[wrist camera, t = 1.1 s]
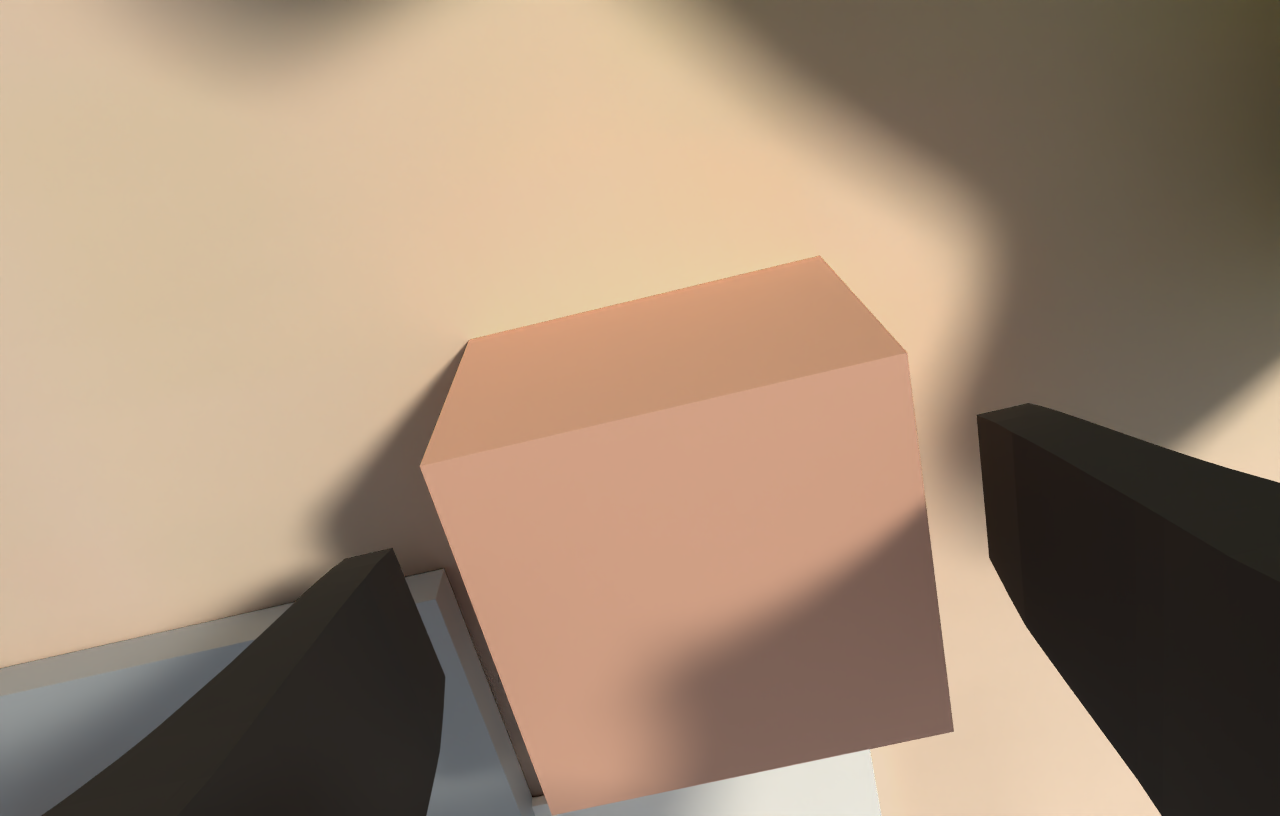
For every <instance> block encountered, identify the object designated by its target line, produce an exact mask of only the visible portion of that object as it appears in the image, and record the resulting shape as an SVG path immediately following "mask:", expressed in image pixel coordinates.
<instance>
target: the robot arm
mask: <svg viewBox="0 0 1280 816" xmlns="http://www.w3.org/2000/svg"><path fill="white" fill-rule="evenodd" d="M977 424H978V435H979V446H980V458H981V469H982V480H983V491H984V503H985V514H986V525H987V536H988V548H989V558H990V560H991V562H992V564H993V566H994V568H995V570H996V571H997V573H998V575H999V577H1000V579H1001V581H1002V583H1003V585H1004V587H1005V589H1006V591H1007V593H1008V595H1009V597H1010V598H1011V600H1012V602H1013V604H1014V606H1015V607H1016V609H1017V611H1018V613H1019V615H1020V616H1021V618H1022V620H1023V622H1024V624H1025V625H1026V627H1027V628H1028V630H1029V631H1030V633H1031V634H1032V635H1033V637H1034V638H1035V640H1036V641H1037V643H1038V644H1039V645H1040V647H1041V648H1042V650H1043V651H1044V652H1045V654H1046V655H1047V656H1048V658H1049V659H1050V661H1051V662H1052V663H1053V665H1054V666H1055V668H1056V669H1057V670H1058V672H1059V673H1060V674H1061V676H1062V677H1063V679H1064V680H1065V681H1066V683H1067V684H1068V685H1069V687H1070V688H1071V690H1072V691H1073V692H1074V694H1075V695H1076V696H1077V698H1078V699H1079V700H1080V702H1081V703H1082V705H1083V706H1084V707H1085V709H1086V710H1087V711H1088V713H1089V714H1090V715H1091V717H1092V718H1093V719H1094V721H1095V722H1096V724H1097V725H1098V726H1099V728H1100V729H1101V730H1102V732H1103V733H1104V734H1105V736H1106V737H1107V739H1108V740H1109V741H1110V743H1111V744H1112V745H1113V747H1114V748H1115V749H1116V751H1117V752H1118V754H1119V755H1120V756H1121V758H1122V759H1123V760H1124V762H1125V763H1126V764H1127V766H1128V767H1129V769H1130V770H1131V771H1132V773H1133V774H1134V775H1135V777H1136V778H1137V779H1138V781H1139V782H1140V784H1141V785H1142V787H1143V788H1144V790H1145V791H1146V793H1147V794H1148V796H1149V797H1150V799H1151V800H1152V802H1153V803H1154V805H1155V806H1156V808H1157V809H1158V811H1159V812H1160V814H1161V815H1162V816H1280V483H1278V482H1275V481H1271V480H1268V479H1264V478H1261V477H1257V476H1254V475H1250V474H1247V473H1243V472H1240V471H1236V470H1233V469H1229V468H1226V467H1222V466H1219V465H1216V464H1213V463H1210V462H1206V461H1203V460H1200V459H1197V458H1194V457H1191V456H1188V455H1184V454H1181V453H1178V452H1175V451H1172V450H1169V449H1166V448H1163V447H1160V446H1157V445H1154V444H1152V443H1149V442H1146V441H1143V440H1140V439H1137V438H1134V437H1131V436H1128V435H1125V434H1123V433H1120V432H1117V431H1114V430H1111V429H1108V428H1106V427H1103V426H1100V425H1097V424H1094V423H1091V422H1088V421H1085V420H1083V419H1080V418H1077V417H1074V416H1071V415H1068V414H1065V413H1062V412H1059V411H1055V410H1052V409H1049V408H1045V407H1042V406H1038V405H1034V404H1029V403H1028V404H1023V405H1019V406H1014V407H1010V408H1006V409H1001V410H997V411H992V412H988V413H984V414H979V415H977ZM445 678H446V677H445V674H444V672H443V669H442V667H441V665H440V662H439V660H438V657H437V655H436V652H435V650H434V648H433V645H432V643H431V640H430V638H429V635H428V633H427V631H426V628H425V626H424V623H423V621H422V618H421V616H420V614H419V611H418V609H417V606H416V604H415V601H414V599H413V597H412V594H411V592H410V589H409V587H408V584H407V582H406V580H405V577H404V575H403V572H402V570H401V567H400V565H399V563H398V560H397V558H396V555H395V553H394V550H393V548H391V549H386V550H382V551H378V552H373V553H369V554H364V555H360V556H356V557H351V558H347V559H344V560H343V561H342V562H340V563H339V564H338V565H336V566H335V567H334V568H332V569H331V570H330V571H329V572H328V573H326V574H325V575H324V576H323V577H322V578H321V579H320V580H318V581H317V582H316V583H315V584H314V585H313V586H312V587H311V588H310V589H308V590H307V591H306V592H305V593H304V594H303V595H302V596H301V597H300V598H299V599H298V600H297V601H296V602H294V603H293V604H292V605H291V606H290V607H289V608H288V609H287V610H286V611H285V612H284V613H283V614H282V615H281V616H280V617H279V618H278V619H277V620H275V621H274V622H273V623H272V624H271V625H270V626H269V627H268V628H267V629H266V630H265V631H264V632H263V633H262V634H261V635H260V636H258V637H257V638H256V639H255V640H254V641H253V642H252V643H251V644H250V645H249V646H248V647H247V648H246V649H245V650H244V651H243V652H241V653H240V654H239V655H238V656H237V657H236V658H235V659H234V660H233V661H232V662H231V663H230V664H229V665H228V666H226V667H225V668H224V669H223V670H222V671H221V672H220V673H218V674H217V675H216V676H215V677H214V678H213V679H212V680H211V681H209V682H208V683H207V684H206V685H205V686H204V687H203V688H201V689H200V690H199V691H198V692H197V693H196V694H195V695H193V696H192V697H191V698H190V699H189V700H188V701H187V702H186V703H184V704H183V705H182V706H181V707H180V708H179V709H178V710H176V711H175V712H174V713H173V714H172V715H171V716H170V717H168V718H167V719H166V720H165V721H164V722H163V723H162V724H160V725H159V726H158V727H157V728H156V729H154V730H153V731H152V732H151V733H150V734H148V735H147V736H146V737H145V738H144V739H142V740H141V741H140V742H139V743H137V744H136V745H135V746H134V747H132V748H131V749H130V750H129V751H127V752H126V753H125V754H124V755H122V756H121V757H120V758H119V759H117V760H116V761H115V762H113V763H112V764H111V765H109V766H108V767H107V768H105V769H104V770H103V771H101V772H100V773H99V774H97V775H96V776H95V777H93V778H92V779H91V780H89V781H88V782H87V783H85V784H84V785H83V786H81V787H80V788H79V789H78V790H76V791H75V792H74V793H72V794H71V795H69V796H68V797H67V798H65V799H64V800H63V801H61V802H60V803H58V804H57V805H56V806H54V807H53V808H51V809H50V810H49V811H47V812H46V813H44V814H43V815H41V816H426V815H427V811H428V806H429V801H430V797H431V792H432V787H433V783H434V778H435V774H436V769H437V764H438V759H439V754H440V746H441V735H442V724H443V711H444V694H445Z"/></svg>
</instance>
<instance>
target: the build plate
mask: <svg viewBox="0 0 1280 816" xmlns="http://www.w3.org/2000/svg"><path fill="white" fill-rule="evenodd" d="M405 580H406V582H407V584H408V587H409V589H410V592H411V594H412V597H413V599H414V601H415V604H416V606H417V609H418V611H419V614H420V616H421V618H422V621H423V623H424V626H425V628H426V631H427V633H428V635H429V638H430V640H431V643H432V645H433V648H434V650H435V652H436V655H437V657H438V660H439V662H440V665H441V667H442V669H443V672H444V674H445V677H446V678H445V694H444V711H443V724H442V735H441V746H440V754H439V759H438V764H437V769H436V774H435V778H434V783H433V787H432V792H431V797H430V801H429V806H428V811H427V815H426V816H535V814H534V811H533V809H532V795H531V793H530V790H529V788H528V785H527V782H526V780H525V777H524V775H523V772H522V769H521V767H520V764H519V762H518V759H517V757H516V754H515V751H514V749H513V746H512V744H511V741H510V738H509V736H508V733H507V731H506V728H505V725H504V723H503V720H502V718H501V715H500V712H499V710H498V707H497V705H496V702H495V700H494V697H493V694H492V692H491V689H490V687H489V684H488V681H487V679H486V676H485V674H484V671H483V668H482V666H481V663H480V661H479V658H478V655H477V653H476V650H475V648H474V645H473V642H472V640H471V637H470V635H469V632H468V630H467V627H466V624H465V622H464V619H463V617H462V614H461V611H460V609H459V606H458V604H457V601H456V598H455V596H454V593H453V591H452V588H451V585H450V583H449V580H448V578H447V575H446V573H445V570H444V569H440V570H436V571H431V572H427V573H422V574H418V575H413V576H409V577H405ZM293 603H294V602H293ZM293 603H289V604H285V605H280V606H276V607H271V608H267V609H262V610H258V611H254V612H249V613H245V614H240V615H236V616H231V617H227V618H222V619H218V620H214V621H209V622H205V623H200V624H196V625H191V626H187V627H182V628H178V629H174V630H169V631H165V632H160V633H156V634H151V635H147V636H143V637H138V638H134V639H129V640H125V641H120V642H116V643H111V644H107V645H103V646H98V647H94V648H89V649H85V650H80V651H76V652H71V653H67V654H63V655H58V656H54V657H49V658H45V659H40V660H36V661H32V662H27V663H23V664H18V665H14V666H9V667H5V668H0V816H41V815H43V814H44V813H46V812H47V811H49V810H50V809H51V808H53V807H54V806H56V805H57V804H58V803H60V802H61V801H63V800H64V799H65V798H67V797H68V796H69V795H71V794H72V793H74V792H75V791H76V790H78V789H79V788H80V787H81V786H83V785H84V784H85V783H87V782H88V781H89V780H91V779H92V778H93V777H95V776H96V775H97V774H99V773H100V772H101V771H103V770H104V769H105V768H107V767H108V766H109V765H111V764H112V763H113V762H115V761H116V760H117V759H119V758H120V757H121V756H122V755H124V754H125V753H126V752H127V751H129V750H130V749H131V748H132V747H134V746H135V745H136V744H137V743H139V742H140V741H141V740H142V739H144V738H145V737H146V736H147V735H148V734H150V733H151V732H152V731H153V730H154V729H156V728H157V727H158V726H159V725H160V724H162V723H163V722H164V721H165V720H166V719H167V718H168V717H170V716H171V715H172V714H173V713H174V712H175V711H176V710H178V709H179V708H180V707H181V706H182V705H183V704H184V703H186V702H187V701H188V700H189V699H190V698H191V697H192V696H193V695H195V694H196V693H197V692H198V691H199V690H200V689H201V688H203V687H204V686H205V685H206V684H207V683H208V682H209V681H211V680H212V679H213V678H214V677H215V676H216V675H217V674H218V673H220V672H221V671H222V670H223V669H224V668H225V667H226V666H228V665H229V664H230V663H231V662H232V661H233V660H234V659H235V658H236V657H237V656H238V655H239V654H240V653H241V652H243V651H244V650H245V649H246V648H247V647H248V646H249V645H250V644H251V643H252V642H253V641H254V640H255V639H256V638H257V637H258V636H260V635H261V634H262V633H263V632H264V631H265V630H266V629H267V628H268V627H269V626H270V625H271V624H272V623H273V622H274V621H275V620H277V619H278V618H279V617H280V616H281V615H282V614H283V613H284V612H285V611H286V610H287V609H288V608H289V607H290V606H291V605H292V604H293Z"/></svg>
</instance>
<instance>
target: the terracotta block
mask: <svg viewBox="0 0 1280 816" xmlns="http://www.w3.org/2000/svg"><path fill="white" fill-rule="evenodd" d="M420 468H421V471H422V474H423V476H424V479H425V481H426V484H427V487H428V489H429V492H430V495H431V497H432V500H433V503H434V505H435V508H436V510H437V513H438V516H439V518H440V521H441V524H442V526H443V529H444V532H445V534H446V537H447V540H448V542H449V545H450V547H451V550H452V553H453V555H454V558H455V561H456V563H457V566H458V569H459V571H460V574H461V576H462V579H463V582H464V584H465V587H466V590H467V592H468V595H469V598H470V600H471V603H472V606H473V608H474V611H475V613H476V616H477V619H478V621H479V624H480V627H481V629H482V632H483V635H484V637H485V640H486V642H487V645H488V648H489V650H490V653H491V656H492V658H493V661H494V664H495V666H496V669H497V672H498V674H499V677H500V679H501V682H502V685H503V687H504V690H505V693H506V695H507V698H508V701H509V703H510V706H511V708H512V711H513V714H514V716H515V719H516V722H517V724H518V727H519V730H520V732H521V735H522V738H523V740H524V743H525V745H526V748H527V751H528V753H529V756H530V759H531V761H532V764H533V767H534V769H535V772H536V774H537V777H538V780H539V782H540V785H541V788H542V790H543V793H544V796H545V798H546V801H547V804H548V806H549V809H550V811H551V814H552V815H557V814H562V813H567V812H571V811H576V810H581V809H586V808H591V807H595V806H600V805H605V804H610V803H614V802H619V801H624V800H629V799H634V798H638V797H643V796H648V795H653V794H657V793H662V792H667V791H672V790H677V789H681V788H686V787H691V786H696V785H700V784H705V783H710V782H715V781H720V780H724V779H729V778H734V777H739V776H743V775H748V774H753V773H758V772H763V771H767V770H772V769H777V768H782V767H786V766H791V765H796V764H801V763H806V762H810V761H815V760H820V759H825V758H829V757H834V756H839V755H844V754H849V753H853V752H858V751H863V750H868V749H872V748H877V747H882V746H887V745H892V744H896V743H901V742H906V741H911V740H915V739H920V738H925V737H930V736H935V735H939V734H944V733H949V732H954V729H953V721H952V713H951V704H950V696H949V688H948V680H947V672H946V664H945V656H944V648H943V640H942V631H941V623H940V615H939V607H938V599H937V591H936V583H935V575H934V566H933V558H932V550H931V542H930V534H929V526H928V518H927V510H926V501H925V493H924V485H923V477H922V469H921V461H920V453H919V445H918V436H917V428H916V420H915V412H914V404H913V396H912V388H911V380H910V371H909V363H908V355H907V352H906V351H905V350H904V349H903V347H902V346H901V345H900V344H899V343H898V342H897V341H896V340H895V339H894V337H893V336H892V335H891V334H890V333H889V332H888V331H887V330H886V329H885V327H884V326H883V325H882V324H881V323H880V322H879V321H878V320H877V319H876V317H875V316H874V315H873V314H872V313H871V312H870V311H869V310H868V309H867V307H866V306H865V305H864V304H863V303H862V302H861V301H860V300H859V299H858V298H857V296H856V295H855V294H854V293H853V292H852V291H851V290H850V289H849V288H848V286H847V285H846V284H845V283H844V282H843V281H842V280H841V279H840V278H839V276H838V275H837V274H836V273H835V272H834V271H833V270H832V269H831V268H830V266H829V265H828V264H827V263H826V262H825V261H824V260H823V259H822V258H821V256H816V257H812V258H808V259H803V260H799V261H795V262H791V263H787V264H783V265H778V266H774V267H770V268H766V269H762V270H758V271H753V272H749V273H745V274H741V275H737V276H733V277H728V278H724V279H720V280H716V281H712V282H708V283H703V284H699V285H695V286H691V287H687V288H683V289H678V290H674V291H670V292H666V293H662V294H658V295H653V296H649V297H645V298H641V299H637V300H633V301H628V302H624V303H620V304H616V305H612V306H608V307H603V308H599V309H595V310H591V311H587V312H583V313H579V314H574V315H570V316H566V317H562V318H558V319H554V320H549V321H545V322H541V323H537V324H533V325H529V326H524V327H520V328H516V329H512V330H508V331H504V332H499V333H495V334H491V335H487V336H483V337H479V338H474V339H470V340H469V342H468V344H467V347H466V349H465V352H464V354H463V357H462V359H461V362H460V365H459V367H458V370H457V372H456V375H455V377H454V380H453V382H452V385H451V388H450V390H449V393H448V395H447V398H446V400H445V403H444V405H443V408H442V411H441V413H440V416H439V418H438V421H437V423H436V426H435V428H434V431H433V434H432V436H431V439H430V441H429V444H428V446H427V449H426V452H425V454H424V457H423V459H422V462H421V464H420Z"/></svg>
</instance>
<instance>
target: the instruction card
mask: <svg viewBox="0 0 1280 816" xmlns="http://www.w3.org/2000/svg"><path fill="white" fill-rule="evenodd" d="M532 809H533V811H534V814H535V816H881V810H880V805H879V799H878V793H877V787H876V781H875V776H874V770H873V764H872V758H871V753H870V749H868V750H863V751H858V752H853V753H849V754H844V755H839V756H834V757H829V758H825V759H820V760H815V761H810V762H806V763H801V764H796V765H791V766H786V767H782V768H777V769H772V770H767V771H763V772H758V773H753V774H748V775H743V776H739V777H734V778H729V779H724V780H720V781H715V782H710V783H705V784H700V785H696V786H691V787H686V788H681V789H677V790H672V791H667V792H662V793H657V794H653V795H648V796H643V797H638V798H634V799H629V800H624V801H619V802H614V803H610V804H605V805H600V806H595V807H591V808H586V809H581V810H576V811H571V812H567V813H562V814H557V815H552V814H551V811H550V809H549V806H548V804H547V801H546V798H545V796H544V795H543V796H539V797H534V798H532Z"/></svg>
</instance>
